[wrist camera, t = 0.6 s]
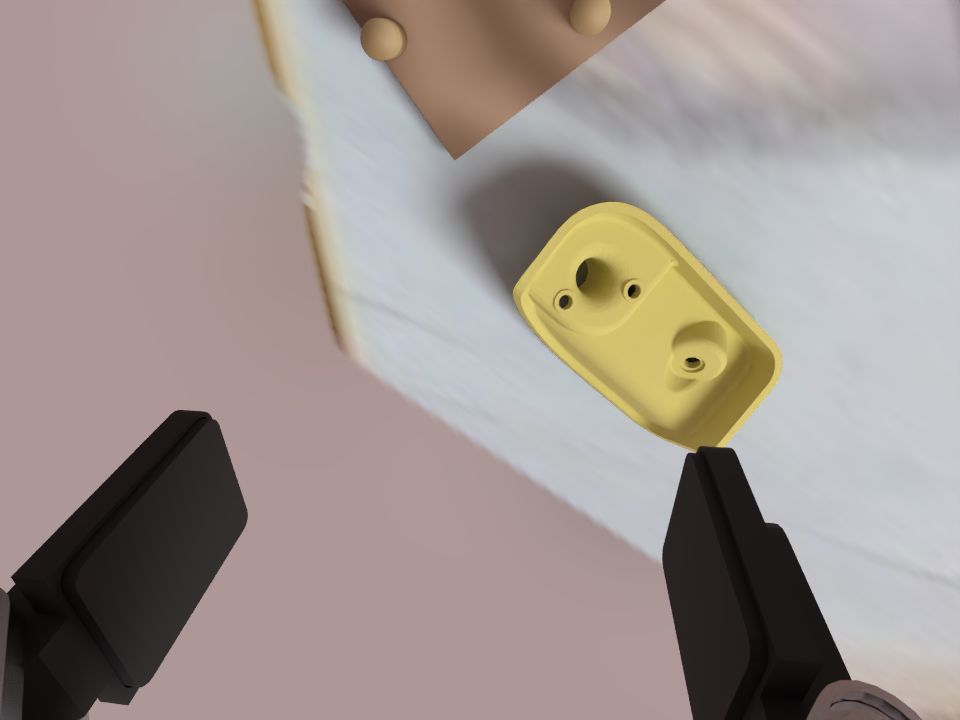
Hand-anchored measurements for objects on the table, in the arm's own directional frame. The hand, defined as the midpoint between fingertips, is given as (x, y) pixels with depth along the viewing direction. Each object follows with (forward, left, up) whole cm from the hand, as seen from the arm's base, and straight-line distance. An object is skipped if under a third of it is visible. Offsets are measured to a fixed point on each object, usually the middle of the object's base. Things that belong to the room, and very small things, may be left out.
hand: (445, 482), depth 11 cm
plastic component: (-1, +13, -30) cm, 33 cm away
